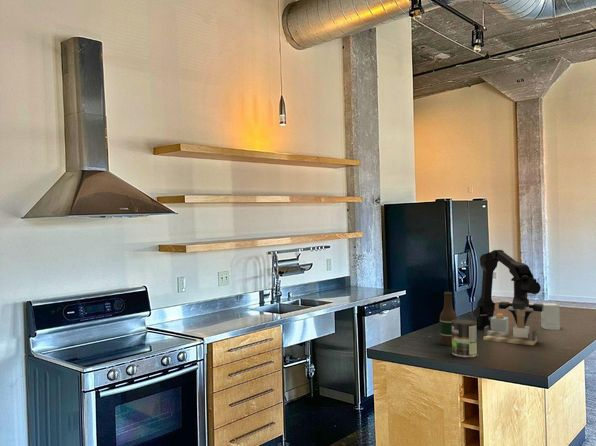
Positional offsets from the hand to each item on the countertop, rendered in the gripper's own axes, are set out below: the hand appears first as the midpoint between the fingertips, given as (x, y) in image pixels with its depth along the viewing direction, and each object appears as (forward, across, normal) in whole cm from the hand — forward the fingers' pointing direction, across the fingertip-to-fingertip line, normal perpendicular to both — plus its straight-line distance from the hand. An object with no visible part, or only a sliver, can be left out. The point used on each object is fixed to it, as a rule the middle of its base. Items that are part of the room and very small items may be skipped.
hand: (521, 324), depth 236 cm
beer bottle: (+8, -28, -20) cm, 35 cm away
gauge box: (+8, -12, +12) cm, 19 cm away
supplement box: (+8, +8, +38) cm, 40 cm away
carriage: (+5, 0, 0) cm, 5 cm away
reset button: (+1, -12, +13) cm, 17 cm away
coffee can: (+8, -17, -35) cm, 40 cm away
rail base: (+8, -5, 0) cm, 9 cm away
